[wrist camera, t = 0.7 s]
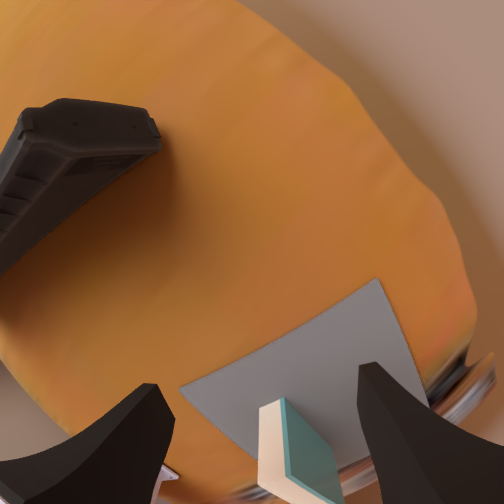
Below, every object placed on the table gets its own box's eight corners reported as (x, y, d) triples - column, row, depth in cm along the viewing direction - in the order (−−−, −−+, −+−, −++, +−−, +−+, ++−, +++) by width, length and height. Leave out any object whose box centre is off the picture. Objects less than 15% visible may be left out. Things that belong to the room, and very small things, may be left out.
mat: (292, 483, 24) (293, 485, 23) (179, 387, 21) (178, 390, 20) (431, 415, 21) (432, 417, 21) (376, 277, 18) (378, 279, 18)
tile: (311, 457, 22) (320, 517, 14) (259, 408, 20) (257, 484, 13) (332, 448, 22) (346, 509, 14) (284, 397, 20) (291, 474, 12)
